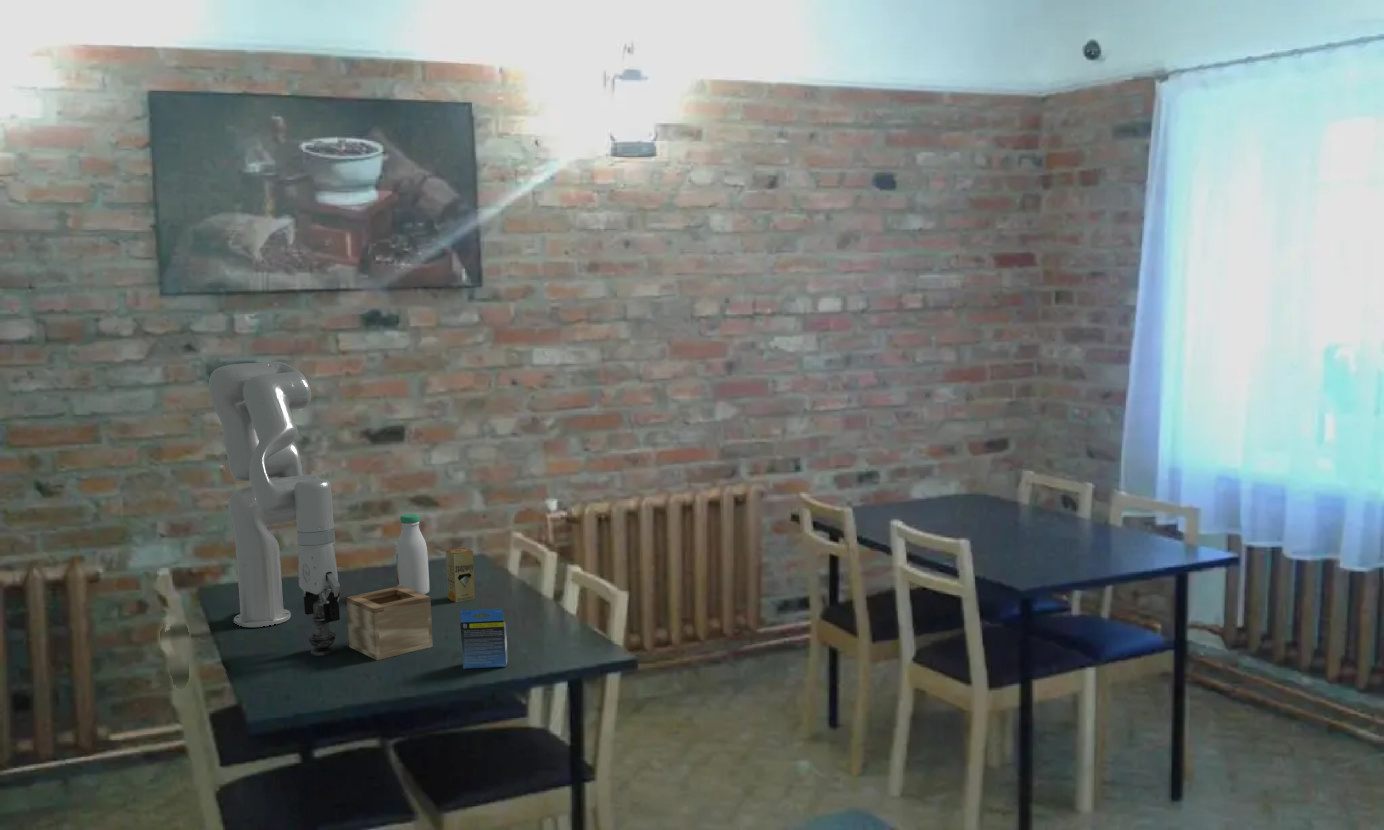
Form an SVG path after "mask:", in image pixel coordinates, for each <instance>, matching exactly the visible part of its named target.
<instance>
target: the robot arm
mask: <svg viewBox="0 0 1384 830" xmlns="http://www.w3.org/2000/svg"><path fill="white" fill-rule="evenodd" d="M311 390H312V389H311V386H310V383H309V381H308V379H307V378H306V377H305V375H304V374H303V373H302V372H300V370H298V369H296V368H295V367H293V366H291V365H289V364H287V363H285V362H282V361H264V362H263V361H262V362H247V363H235V364H228V365H223V366H219V367H217V368H215V369H214V370H213V371H212V372H211V374H210V376H209V380H208V391H209V395H210V396H209V397H210V401H211V403H212V406H213V408H214V410H215V412H216V414H217V416H218V418H219V419H218V420H220V424H221V427H222V428H221V429H222V433H223V439H224V440H223V441H224V445H225V453H226V457H227V464H228V465H227V466H228V468H229V472H230V474H231V476H232V478H233V479H234V480H236V481H239V482H249V483H250V485H251V486H248V487H243V488H241V489H238V490H236V491H234V492H233V493H232V494H231V495H230V497H229V499H228V503H227V505H228V506H227V507H228V513H229V514H228V515H229V517H230V521H231V525H232V530H233V536H234V544H235V556H236V557H235V558H236V568H237V583H238V598H239V611H240V613H239V614H237V615H236V616H235V617H233V623H235V624H237V625H239V626H238V627H240V626H242V627H241V628H263V626H265V627H270V626H269V625H271V626H275V625H274V624H276V625H279V624H283V623H285V622H287V621H288V620H290V619H291V616H292V613H291V611H290V610H288V609H285V608H284V600H283V598H284V597H283V583H282V569H281V568H282V567H281V565H282V564H281V554H280V546H279V545H280V544H279V542H278V540H277V538H276V537H275V536H274V535H273V534H272V533H271V532H270V531H269V530H268V527H273V526H275V525H277V526H278V525H282V524H289V523H294V522H295V524H296V532H297V545H298V546H297V547H298V555H297V559H298V560H297V561H298V562H297V566H298V567H297V569H298V586H299V588H300V589H301V590H302V596H303V606H304V614H305V615H307V616H309V615H314V611H313V604H314V603H315V602H317V601H318V600H319V599H318V598H319V597H320V594H321V596H322V599H323V601H324V602H325V604H323V610H324V621H325V622H326V623H328V622H329V623H332V622H337V621H339V620H340V619H341V617H340V616H341V615H340V605H339V604H340V594H341V593H340V589H341V585H340V583H339V577H338V575H339V574H338V568H337V567H338V566H337V559H336V552H335V548H334V545H335V544H336V534H335V524H334V523H335V522H334V521H335V520H334V509H333V508H334V507H333V493H332V484H331V482H330V481H329V480H327V479H326V478H325V479H324V478H320V477H319V476H318V475H316V474H304V472H303V466H302V460H301V455H300V451H299V448H298V447H297V444H296V442H295V441H296V440H297V438H298V435H299V430H298V426H297V424H296V421H295V419H294V416H293V414H292V410H300V409H305V408H306V407H308V406H309V404H310V403H311V400H312V399H311V398H312V391H311ZM235 624H234V625H235ZM237 625H236V626H237Z"/></svg>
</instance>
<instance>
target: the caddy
mask: <svg viewBox="0 0 1384 830" xmlns="http://www.w3.org/2000/svg"><path fill="white" fill-rule="evenodd" d="M345 599H346V612H347V613H346V614H347V616H346V618H347V632H348V647H349V648H351V649H353V650H355V651H357V652H359V653H361V654H364V655H365V656H368V657H370V658H372V659H373V660H375V661H380V660H384V659H387V658H388V659H389V658H392V657H395V656H400V655H404V654H409V653H412V652H417V651H421V650H426V649H429V648H432V647H433V646H434V645H433V625H432V623H433V622H432V607H431V605H432V603H431V596H430V595H427V594H425V595H424V594H422V593H419V592H416V591H414V590H411V589H408V588H406V587H403V586H398V585H397V586H394V587H393V586H392V587H390V588H384V589H379V590H376V591H371V592H365V593H364V592H363V593H359V594H356V595H351V596H346V597H345Z"/></svg>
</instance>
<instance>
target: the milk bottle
mask: <svg viewBox="0 0 1384 830" xmlns="http://www.w3.org/2000/svg"><path fill="white" fill-rule="evenodd" d="M399 517H400V525H401V531H400V535H399V537H398V539H397V542H396V546H395V547H396V548H395V562H396V580H397V581H396V582H397V587H398V586H403V587H406V588H408V589H411V590H414V591H416V592H419V593H422V594H424V595H427V594H429V593H430V575H429V574H430V573H429V557H428V548H427V542H426V540H425V538H424V536H423V534H422V532H421V530H420V515H419V514H418V513H406V514H402V515H400V516H399Z"/></svg>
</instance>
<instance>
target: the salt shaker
mask: <svg viewBox="0 0 1384 830" xmlns="http://www.w3.org/2000/svg"><path fill="white" fill-rule="evenodd" d="M318 599H319V600H318V601H317V602H315V603H314V604H313V611H314V614H313V617H312V618H311V620H313V632H312V633H310V634H309V635H308V636H307V639H308V640H309V641H308V642H309V643H310V645H311V646H312V647H313V649H312V650H310V652H309V654H310V653H311V655H312V654H315V655H314V656H327V655H331V654H333V653H335V652H336V651H337V650H336V648H334V647H333V646H332V645H333V644H334V643H335V640H336V636H337V633H336V632H335V631H331V629H330V622H328V623H326V622H325V621H324V610H323V604H325V602H324V600H322V597H321V596H319V598H318ZM326 654H327V655H326Z"/></svg>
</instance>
